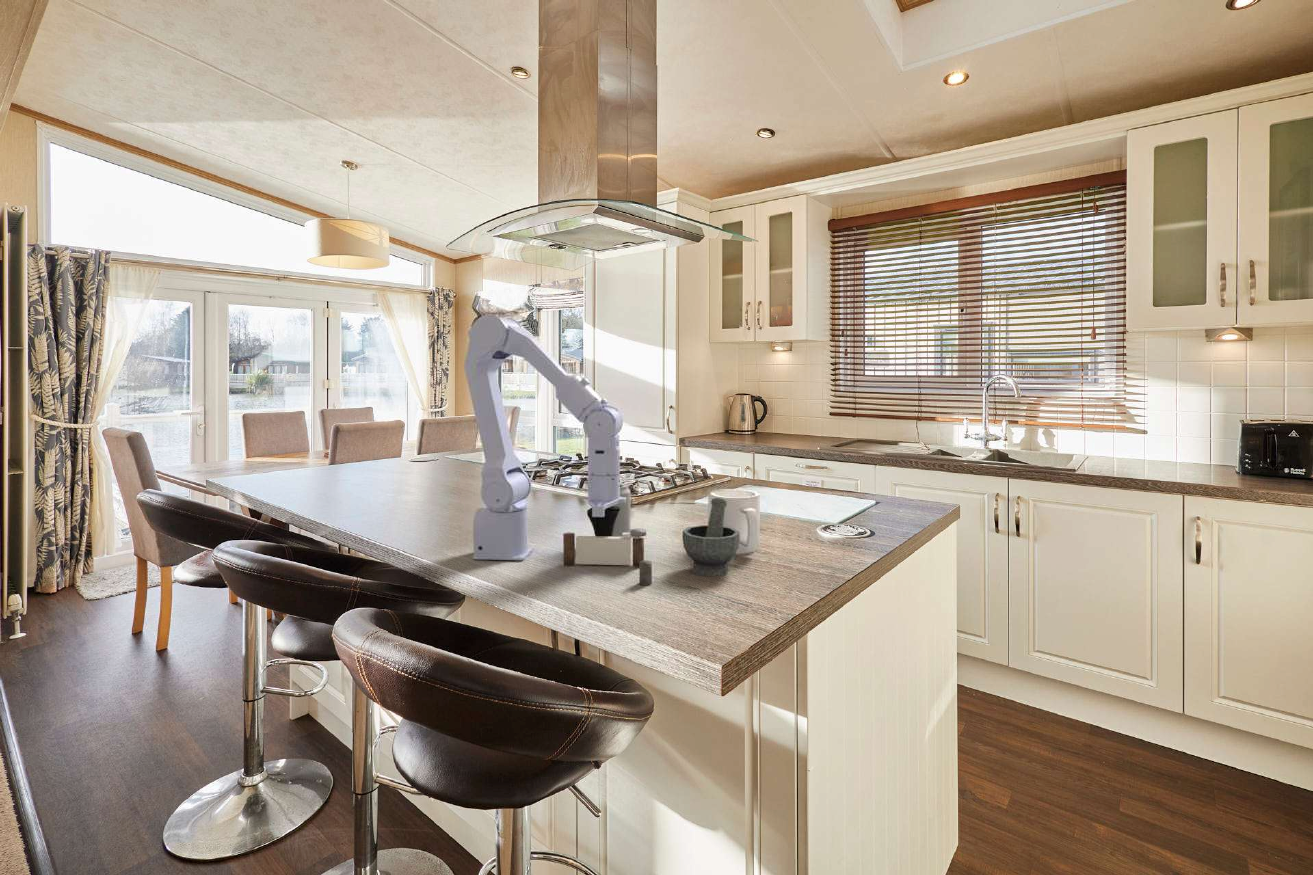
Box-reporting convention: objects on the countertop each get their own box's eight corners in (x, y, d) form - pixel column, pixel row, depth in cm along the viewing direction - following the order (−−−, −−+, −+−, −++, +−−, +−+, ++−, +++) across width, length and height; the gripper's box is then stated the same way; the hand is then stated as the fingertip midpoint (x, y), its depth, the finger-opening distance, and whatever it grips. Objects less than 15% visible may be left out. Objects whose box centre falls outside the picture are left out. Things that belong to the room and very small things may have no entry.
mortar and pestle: (729, 581, 104) (730, 510, 103) (675, 575, 108) (676, 505, 107) (745, 563, 115) (746, 497, 114) (695, 557, 118) (696, 494, 117)
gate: (646, 561, 114) (646, 528, 114) (645, 566, 112) (645, 532, 111) (578, 560, 115) (578, 527, 114) (575, 564, 112) (575, 531, 112)
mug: (778, 555, 120) (780, 499, 119) (731, 560, 116) (732, 503, 115) (742, 538, 133) (743, 487, 132) (698, 542, 129) (699, 491, 128)
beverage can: (626, 548, 124) (626, 488, 123) (594, 546, 125) (594, 486, 124) (633, 540, 130) (633, 482, 129) (603, 538, 132) (603, 481, 130)
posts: (550, 582, 103) (550, 549, 103) (564, 562, 115) (564, 532, 114) (651, 585, 102) (651, 552, 102) (655, 564, 114) (655, 534, 113)
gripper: (621, 480, 107) (621, 559, 108) (629, 468, 122) (629, 537, 123) (580, 480, 107) (580, 558, 109) (593, 467, 122) (593, 537, 123)
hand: (604, 547), depth 116 cm, fingers closed
